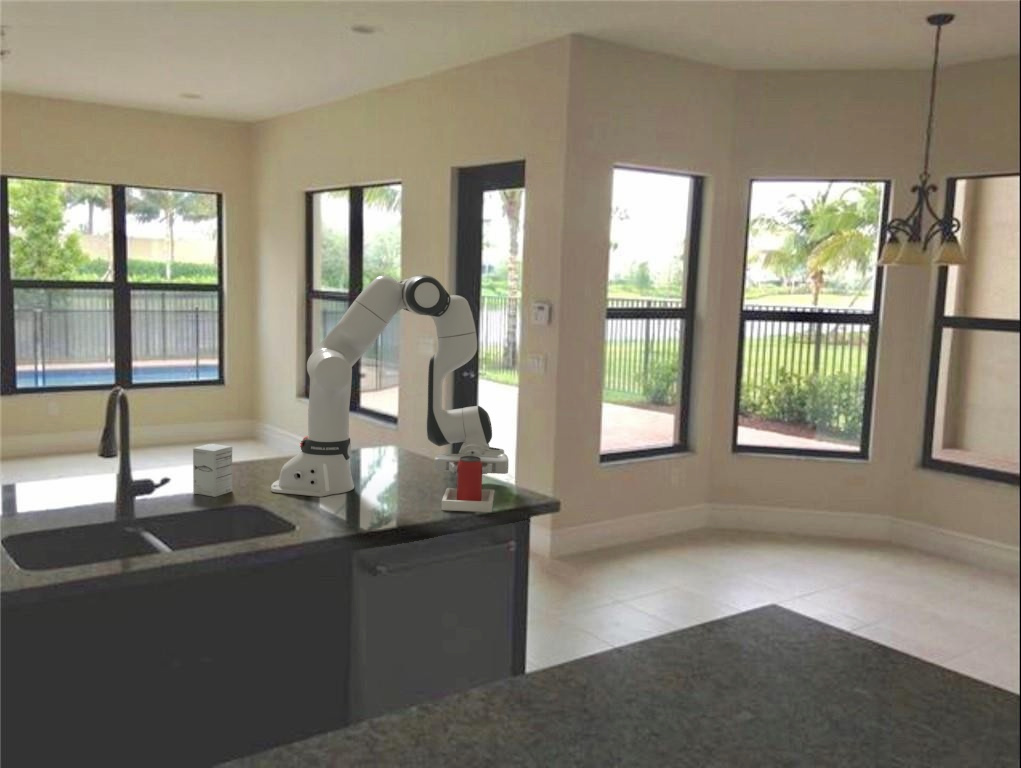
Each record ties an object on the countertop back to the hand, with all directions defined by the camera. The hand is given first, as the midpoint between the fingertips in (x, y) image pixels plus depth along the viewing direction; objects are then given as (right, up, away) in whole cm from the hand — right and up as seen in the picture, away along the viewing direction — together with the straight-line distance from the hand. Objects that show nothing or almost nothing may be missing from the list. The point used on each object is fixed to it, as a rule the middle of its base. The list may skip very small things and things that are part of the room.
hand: (469, 470), depth 221 cm
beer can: (0, -9, +2) cm, 9 cm away
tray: (0, -9, +2) cm, 9 cm away
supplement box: (-69, -7, +5) cm, 70 cm away
